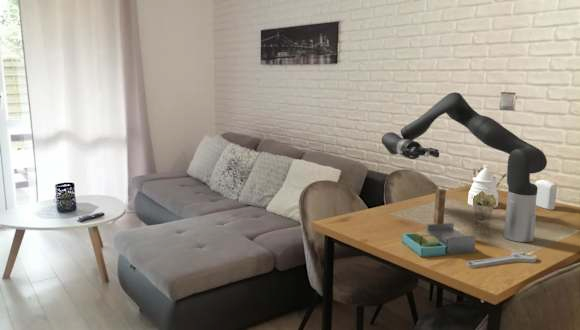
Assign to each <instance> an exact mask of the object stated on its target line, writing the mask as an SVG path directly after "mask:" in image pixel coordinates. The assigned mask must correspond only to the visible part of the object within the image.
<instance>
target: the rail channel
mask: <svg viewBox="0 0 580 330" xmlns="http://www.w3.org/2000/svg"><path fill="white" fill-rule="evenodd" d="M454 224H455V223H454V222H443V223H438V224H434V223H427V224H426V230H425V231H426V232H427V233H429V234H430V235H431V236H434V237H435V238H437V239H438V240H439V242H441V243H442V244H444V245H445V246H447V250H446V255H445V256H452V255H462V254H463V255H464V254H474V253H475V247H476V235H475V234H467V235H465V234H463V233H461V232H460V231H458V230H456V229H454Z"/></svg>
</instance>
